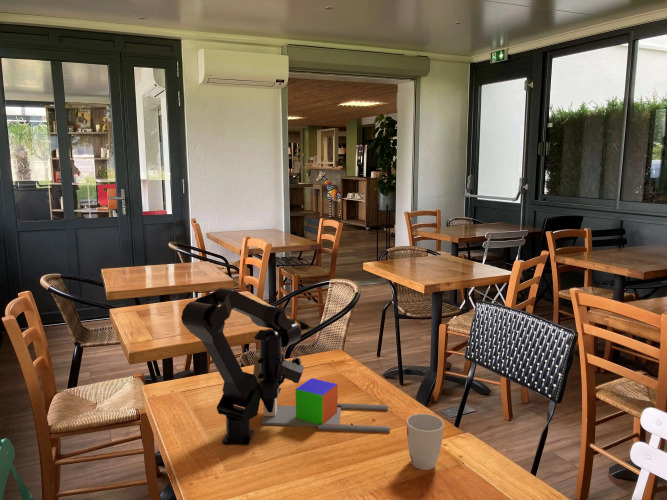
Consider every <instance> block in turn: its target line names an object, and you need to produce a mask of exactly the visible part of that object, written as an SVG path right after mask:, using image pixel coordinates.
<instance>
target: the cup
mask: <svg viewBox="0 0 667 500" xmlns="http://www.w3.org/2000/svg"><path fill="white" fill-rule="evenodd" d="M444 426H445V423H444V421H443V420H442V419H441V418H440V417H438V416H436V415H433V414H430V413H429V414H428V413H415V414H412V415H410V416H408V417H407V418H406V438H407V439H406V440H407V446H408V447H407V448H408V453H409V454H408V455H409V456H410V460H411V463H412V466H413V467H414V468H416V469H418V470H422V471H430V470H432V469H434V468H435V466H436V464H437V462H438V459H439V455H440V452H441V447H442V444H443V435H444Z"/></svg>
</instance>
